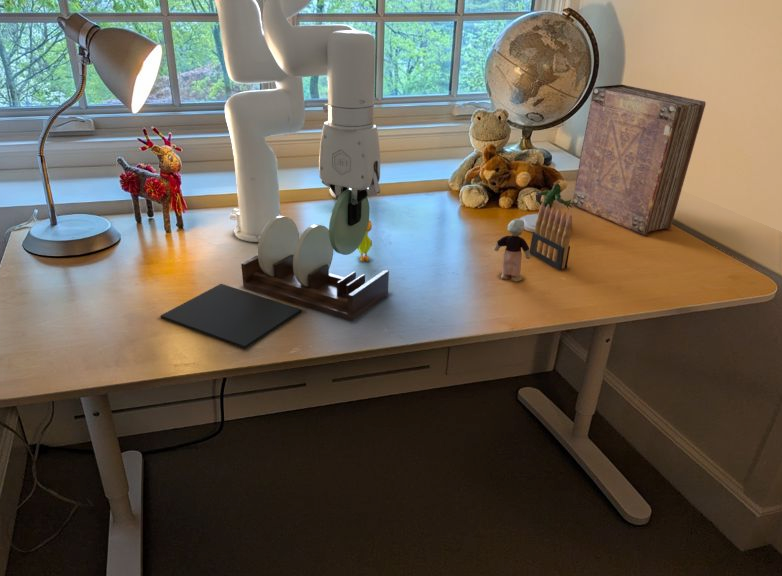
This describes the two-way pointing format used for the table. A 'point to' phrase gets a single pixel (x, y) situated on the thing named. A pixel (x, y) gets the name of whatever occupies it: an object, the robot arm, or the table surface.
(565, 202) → the monster figurine
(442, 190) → the table surface
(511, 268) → the grandmother figurine
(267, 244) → the cream plate
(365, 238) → the toy figure
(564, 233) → the ammunition clip
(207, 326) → the mat
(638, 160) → the book
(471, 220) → the table surface
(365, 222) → the green plate
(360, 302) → the plate rack
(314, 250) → the cream plate
